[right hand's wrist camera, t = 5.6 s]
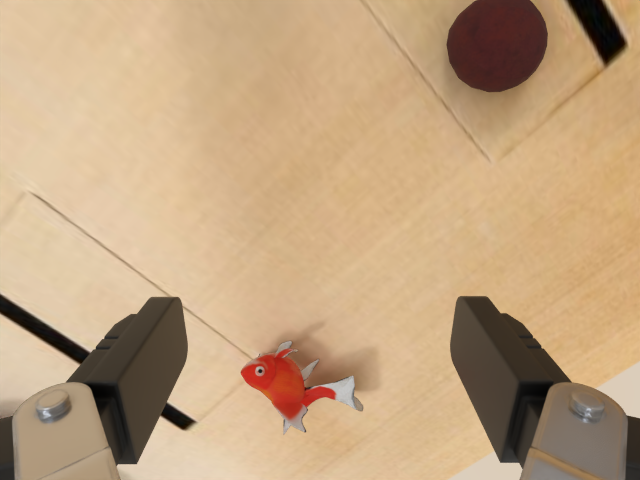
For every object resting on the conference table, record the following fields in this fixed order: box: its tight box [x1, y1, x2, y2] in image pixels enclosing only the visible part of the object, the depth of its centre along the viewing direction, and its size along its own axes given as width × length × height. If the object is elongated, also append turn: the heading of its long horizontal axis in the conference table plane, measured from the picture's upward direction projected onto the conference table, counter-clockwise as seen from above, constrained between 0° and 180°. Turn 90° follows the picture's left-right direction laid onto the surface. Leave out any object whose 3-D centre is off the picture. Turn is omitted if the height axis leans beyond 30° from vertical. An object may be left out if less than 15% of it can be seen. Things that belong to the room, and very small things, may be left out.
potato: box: [447, 0, 548, 92], centre depth 33 cm, size 7×8×7 cm
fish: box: [241, 341, 363, 434], centre depth 45 cm, size 11×16×10 cm
